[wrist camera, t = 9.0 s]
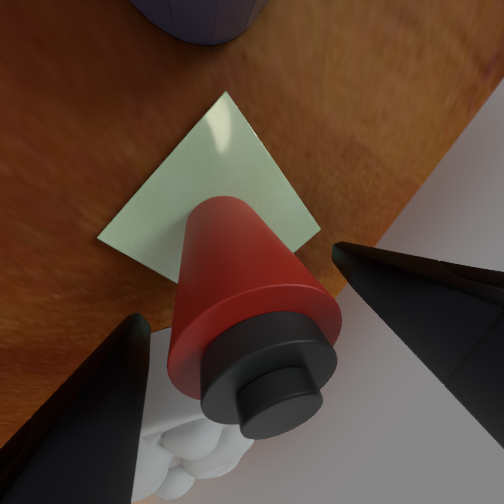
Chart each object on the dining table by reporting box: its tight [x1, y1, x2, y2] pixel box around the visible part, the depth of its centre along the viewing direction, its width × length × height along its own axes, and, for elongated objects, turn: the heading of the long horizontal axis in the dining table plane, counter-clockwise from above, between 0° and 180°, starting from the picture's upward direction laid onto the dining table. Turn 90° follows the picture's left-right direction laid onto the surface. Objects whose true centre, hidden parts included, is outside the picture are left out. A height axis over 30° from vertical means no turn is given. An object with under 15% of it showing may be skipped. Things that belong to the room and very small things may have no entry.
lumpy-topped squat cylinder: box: [131, 327, 254, 503], centre depth 16 cm, size 10×13×9 cm
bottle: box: [167, 196, 342, 440], centre depth 8 cm, size 5×5×10 cm
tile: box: [97, 91, 321, 284], centre depth 13 cm, size 11×11×1 cm
